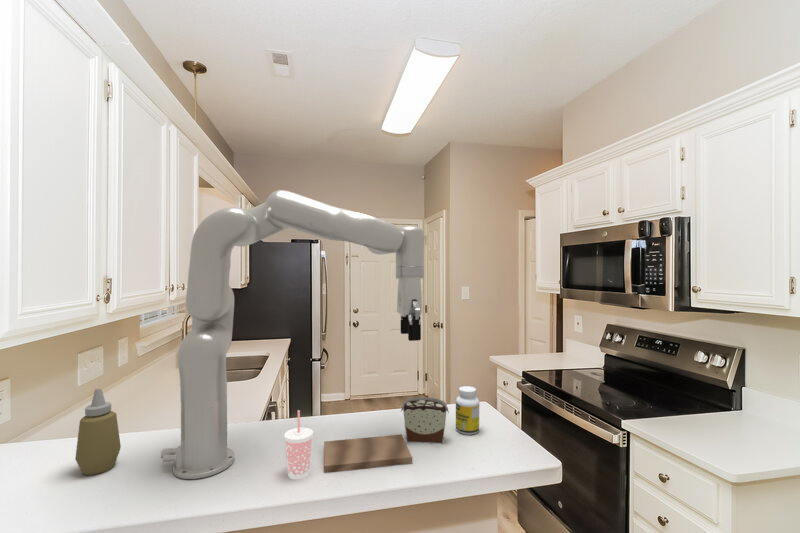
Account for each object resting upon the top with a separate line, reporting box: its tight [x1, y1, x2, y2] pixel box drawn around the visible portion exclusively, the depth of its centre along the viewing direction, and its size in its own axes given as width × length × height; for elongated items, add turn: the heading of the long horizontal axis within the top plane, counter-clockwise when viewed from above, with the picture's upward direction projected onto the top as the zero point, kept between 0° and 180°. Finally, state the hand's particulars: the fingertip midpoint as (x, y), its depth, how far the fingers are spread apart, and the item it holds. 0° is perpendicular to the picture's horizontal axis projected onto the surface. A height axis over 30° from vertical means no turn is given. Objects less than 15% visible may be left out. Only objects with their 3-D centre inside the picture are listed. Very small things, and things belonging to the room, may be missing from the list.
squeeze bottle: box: [74, 388, 121, 476], centre depth 86 cm, size 8×8×18 cm
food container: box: [400, 396, 450, 445], centre depth 101 cm, size 12×6×10 cm, turn 85°
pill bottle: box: [455, 385, 480, 436], centre depth 106 cm, size 6×6×12 cm
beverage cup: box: [284, 409, 314, 481], centre depth 84 cm, size 6×6×14 cm
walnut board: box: [323, 434, 413, 474], centre depth 92 cm, size 20×12×2 cm, turn 101°
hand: (410, 336), depth 102 cm, fingers open, 9 cm apart
